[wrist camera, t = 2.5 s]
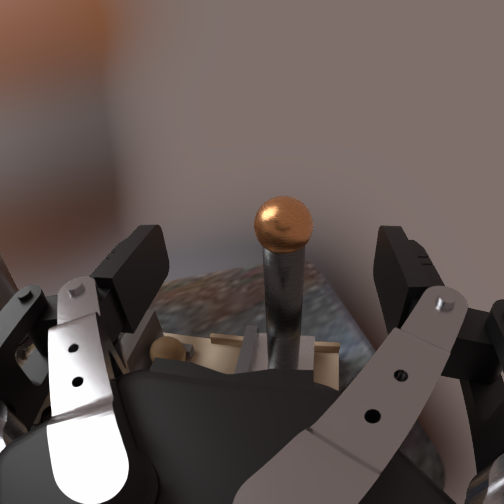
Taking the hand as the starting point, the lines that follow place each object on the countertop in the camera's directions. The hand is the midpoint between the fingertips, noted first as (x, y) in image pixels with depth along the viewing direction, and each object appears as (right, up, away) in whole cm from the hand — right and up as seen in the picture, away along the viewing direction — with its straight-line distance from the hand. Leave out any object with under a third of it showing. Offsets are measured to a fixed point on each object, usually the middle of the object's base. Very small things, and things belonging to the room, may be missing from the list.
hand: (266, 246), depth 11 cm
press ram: (+2, -14, +20) cm, 24 cm away
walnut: (-10, -13, +22) cm, 27 cm away
